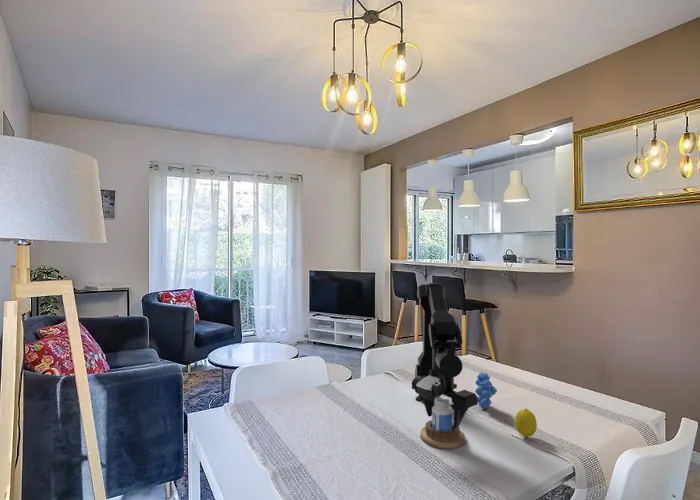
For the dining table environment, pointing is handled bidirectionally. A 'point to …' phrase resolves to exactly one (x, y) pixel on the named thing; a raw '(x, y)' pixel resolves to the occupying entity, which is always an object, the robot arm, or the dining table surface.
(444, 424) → the pill bottle
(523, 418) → the lemon
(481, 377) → the grapes
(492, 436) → the dining table surface
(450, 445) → the socket
